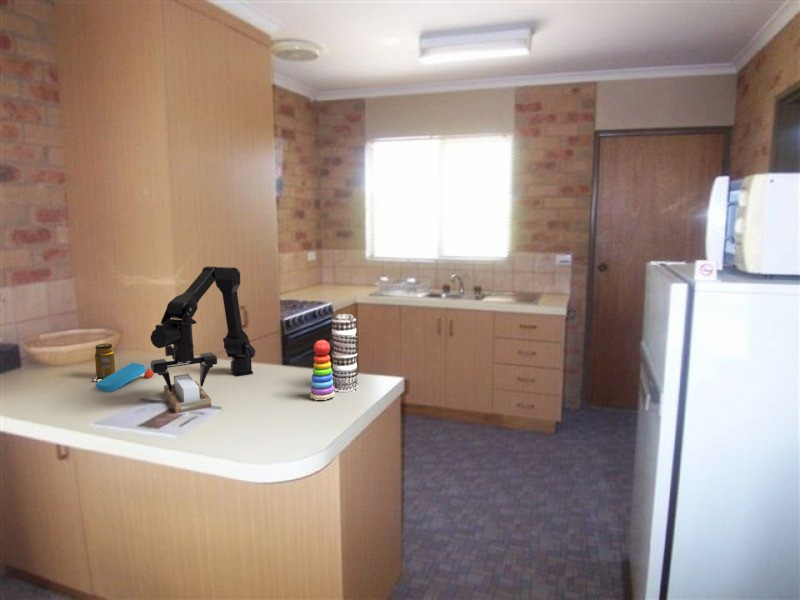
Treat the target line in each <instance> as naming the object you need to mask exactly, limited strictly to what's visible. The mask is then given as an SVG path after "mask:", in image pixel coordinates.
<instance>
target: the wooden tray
mask: <svg viewBox="0 0 800 600" xmlns="http://www.w3.org/2000/svg"><path fill="white" fill-rule="evenodd" d="M194 381H195V383H196V384H197V385H198V386H199V393H200V400H194V401H189V402H182V401H181V399H180V398H179V397H178V395H177V394H176V392H175V390H174V383H171V387H172V392H170V390H169V388H168V386H167V384H165V385H163V394H164V396H166V398H167V400H168V402H169V404H170V405H171V407H172V406H173V407H172V408H173V409H174V412H175V413H176V414H178V413H185V411H186V412H191V411H197V410H200V409H207V408H211V407H212V398H211V397H210V395H208V394H207V393H206V391H205V390H204V389H203V388H202V387H201V386H200V383H198V382H197V380H194Z"/></svg>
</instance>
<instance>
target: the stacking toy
mask: <svg viewBox="0 0 800 600" xmlns="http://www.w3.org/2000/svg"><path fill="white" fill-rule="evenodd" d="M330 345H331V344H330V343H329V342H328V341H327V340H325V339H321V340H318V341H316V342H315V343H314V345H313V352H314V353H315V354H316V355H314V357H313V361H314V363H313V369H312V375H311V379H312V380H311V382H310V384H311V386H310V392H309V397H310V398H311V399H312V398H313V399H317V400H325V399H330V398H332V397H333V398H334V397H335V396H336V392H335V391H334V386H333V380H332V378H333V376H332V373H333V372H332V369H333V368H332V367H331V366H332V362H331V361H330V360H331V356H330V355H329V353H330V350H331V346H330ZM333 398H332V399H333ZM313 399H312V400H313ZM317 400H316V401H317ZM330 400H331V399H330Z"/></svg>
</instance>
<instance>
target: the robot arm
mask: <svg viewBox="0 0 800 600" xmlns="http://www.w3.org/2000/svg"><path fill="white" fill-rule="evenodd" d="M214 282H215V286H216V288H218V290H219V291H220V292H221V294H222V301H223V307H224V314H225V315H224V316H225V320H226V322H225V323H226V328H227V334H225V337H223V338H222V339H223V340H222V341H223V342H222V343H223V349H225V352H226V356H227V358H231V361H230V373H232V374H233V376H235V377H239V376H244V375H245V376H246V375H251V374H254V371H252V370H253V369H252V359H253V358H254V357H255V356H256V349H255V348H254V347H253V346H252V345H251V342H250V339H249V336H248V335H247V333H246V332H245V331H244V330H243V324H242V316H241V310H240V304H239V296H238V290H239V288H240V285H241V272H240V269H238V268H237V267H235V266H234V267H233V266H232V267H230V266H205V267H203V268H202V271H201V272H200V274H199V275H198V276H197V277H196V278H195V279H194V281H192V283H191V284H190V285H189V287H188V288H187V289H186V290H185V291H184V292H183V293H181V294H178V295H176V296H175V297H174V298H172V299H171V300H170V301H169V302H168V303H167V306H166V308H165V311H164V314H163V316H162V319H161V321H160V324H156V325H155V329H154V330H153V331H152V332H151V334H150V342H151V344H152V345H153V346H154V347H155V348H157V349H163V348H164V352H165V357H171V358H172V360H169V361H166V359H165V358H160V359H152V360H151V361H150V369H151V370H152V371H153V374H157V375H158V376H162V377H163V379H164V381H165V385H167V386H168V388H169V390H170V392H172V387H171V384H172V382H171V376H170V372H169V370H168V368H176V367H181V366H188V365H189V366H190V365H196V364H199V368H200V372H199V373H200V375H199V376H200V377H199V385H200V387H201V388H202V387H203V386H204V383H205V380H206V378H207V376H208V373H209V372H210V369H211V368H214V366H215V365H218V357H217V356H216V354H214V353H213V352H212V351H211V352H206V353H205V352H204V353H200V356H197V357H195V353H194V338H193V337H194V336H193V325H196V324H197V321H196V320H195V319H193V317H194V315H195V314H196V312H197V310H198V308H199V307H198V303H199V302H200V300H201V298H202V297H203V296H204V295H205V294H206V293H207V292H208V290H209V288H211V287H212V285H213V284H214Z"/></svg>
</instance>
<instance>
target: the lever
mask: <svg viewBox="0 0 800 600" xmlns="http://www.w3.org/2000/svg"><path fill="white" fill-rule="evenodd" d="M139 377H143V378H144V379H151V378H153V377H154V373H153V371H152V370H151V368H146V365H145V364H141V363H137V362H131V363H129V364H127V365H125V366H124V367H122V368H120V369H118V370H117V371H115V373H113V374H111V375H109V376H108V377H106V378H104V379H102V380H101V381H99V382H94V383H95V386H96V389H97V390H100V389H101V391H103V390H104V391H105V392H107V391H108V393H111V392H115V391H116V390H118V389H119V388H121V387H122V386H124V385H126V384H127V383H130V382H132V381H133V380H135V379H136V378H139Z"/></svg>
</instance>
